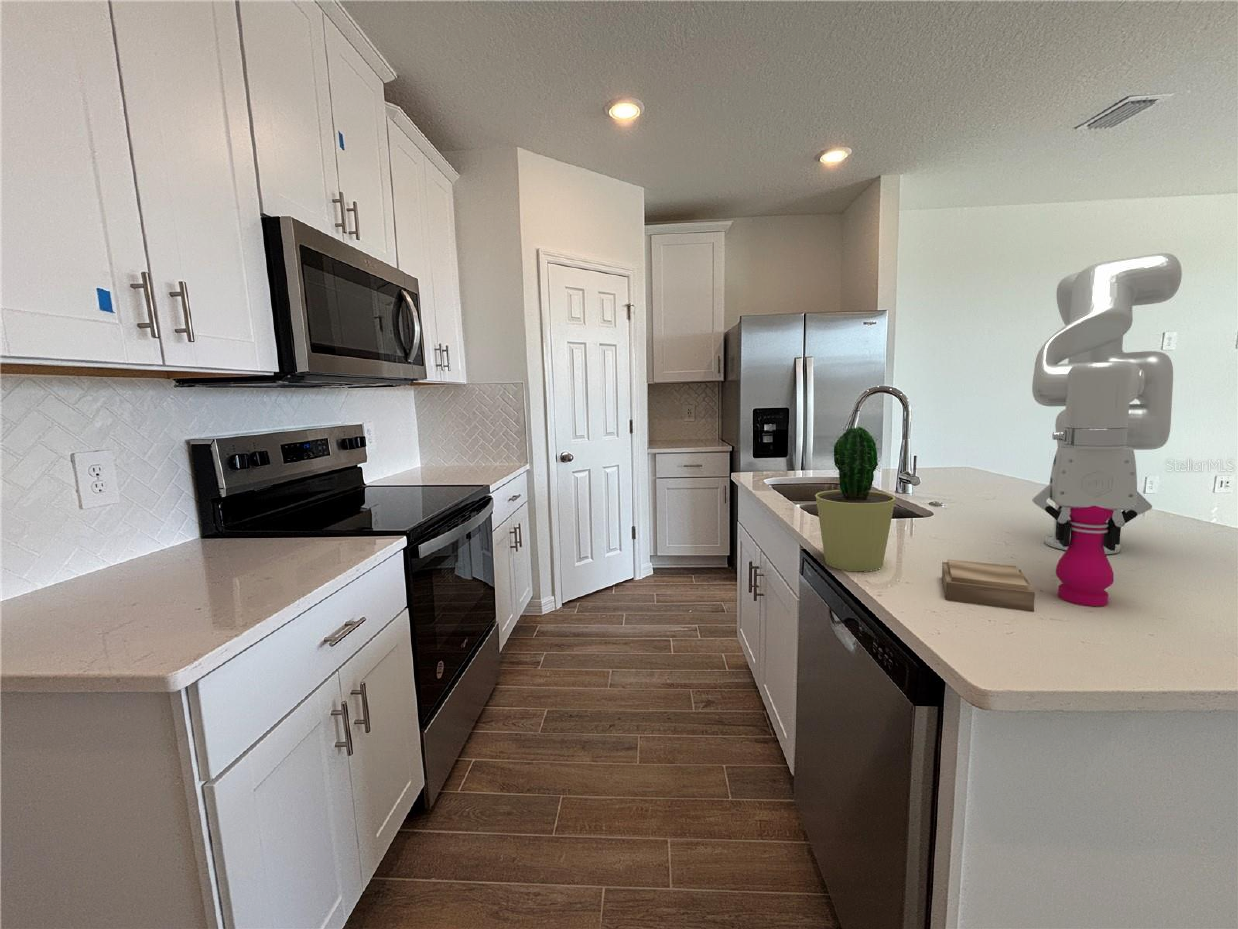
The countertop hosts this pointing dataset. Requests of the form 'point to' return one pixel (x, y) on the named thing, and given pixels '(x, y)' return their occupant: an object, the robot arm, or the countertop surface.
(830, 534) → the potted cactus
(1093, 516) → the pepper mill
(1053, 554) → the countertop surface
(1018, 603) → the wooden box
